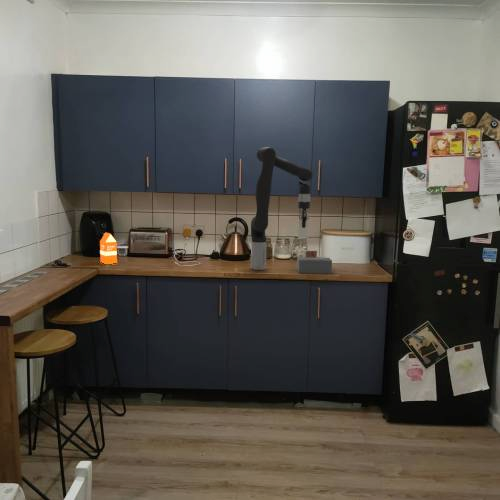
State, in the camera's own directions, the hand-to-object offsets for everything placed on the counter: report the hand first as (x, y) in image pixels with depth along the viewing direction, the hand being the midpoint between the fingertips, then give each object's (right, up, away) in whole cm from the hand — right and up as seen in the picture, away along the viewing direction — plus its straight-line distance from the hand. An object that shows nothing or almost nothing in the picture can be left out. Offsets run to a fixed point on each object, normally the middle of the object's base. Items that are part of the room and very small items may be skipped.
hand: (303, 227), depth 300 cm
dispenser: (+5, -28, -16) cm, 33 cm away
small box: (+4, -25, +3) cm, 26 cm away
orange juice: (-127, -24, -2) cm, 129 cm away
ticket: (0, -7, +1) cm, 7 cm away
